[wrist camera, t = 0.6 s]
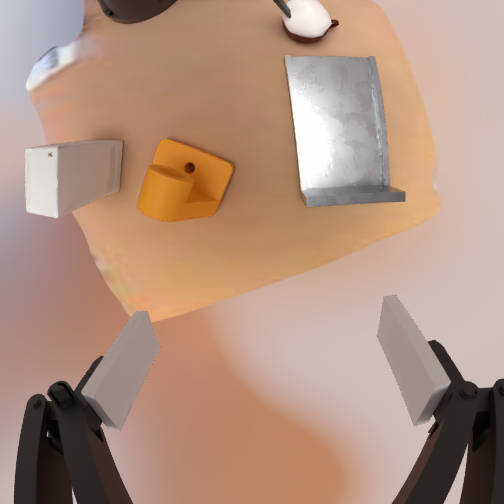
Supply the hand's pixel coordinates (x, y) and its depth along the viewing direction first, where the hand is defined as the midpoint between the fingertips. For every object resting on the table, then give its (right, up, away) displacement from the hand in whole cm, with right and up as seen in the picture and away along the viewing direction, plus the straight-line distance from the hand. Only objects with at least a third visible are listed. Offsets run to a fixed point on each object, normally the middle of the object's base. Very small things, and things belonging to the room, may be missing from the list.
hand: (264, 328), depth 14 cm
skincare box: (-23, +18, +23) cm, 37 cm away
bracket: (-9, +15, +23) cm, 29 cm away
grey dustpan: (+11, +21, +19) cm, 31 cm away
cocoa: (+6, +35, +14) cm, 39 cm away
